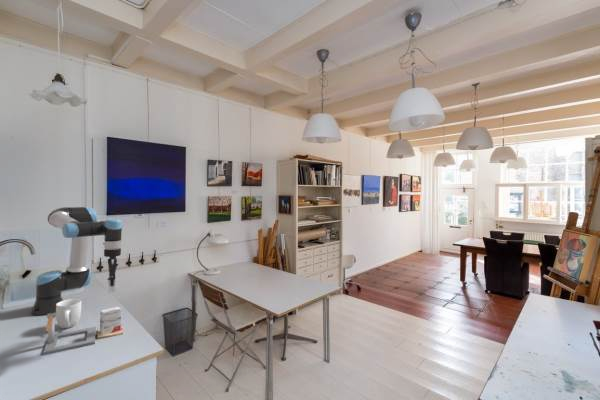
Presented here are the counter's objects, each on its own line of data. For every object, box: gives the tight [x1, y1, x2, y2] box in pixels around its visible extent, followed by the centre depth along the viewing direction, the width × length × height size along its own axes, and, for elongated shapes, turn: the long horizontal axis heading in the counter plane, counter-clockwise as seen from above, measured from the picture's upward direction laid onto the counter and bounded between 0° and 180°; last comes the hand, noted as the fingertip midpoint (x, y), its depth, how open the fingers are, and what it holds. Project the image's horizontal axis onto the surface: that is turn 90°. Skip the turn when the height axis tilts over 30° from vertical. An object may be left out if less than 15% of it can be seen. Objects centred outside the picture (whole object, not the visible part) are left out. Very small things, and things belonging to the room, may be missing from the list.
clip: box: [45, 312, 56, 332], centre depth 131 cm, size 3×19×1 cm, turn 37°
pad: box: [97, 323, 124, 340], centre depth 152 cm, size 11×11×1 cm
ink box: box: [99, 306, 122, 335], centre depth 151 cm, size 9×5×12 cm, turn 136°
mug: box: [55, 298, 82, 329], centre depth 155 cm, size 15×11×13 cm
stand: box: [42, 316, 97, 356], centre depth 142 cm, size 18×19×14 cm
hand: (111, 287), depth 152 cm, fingers open, 13 cm apart
